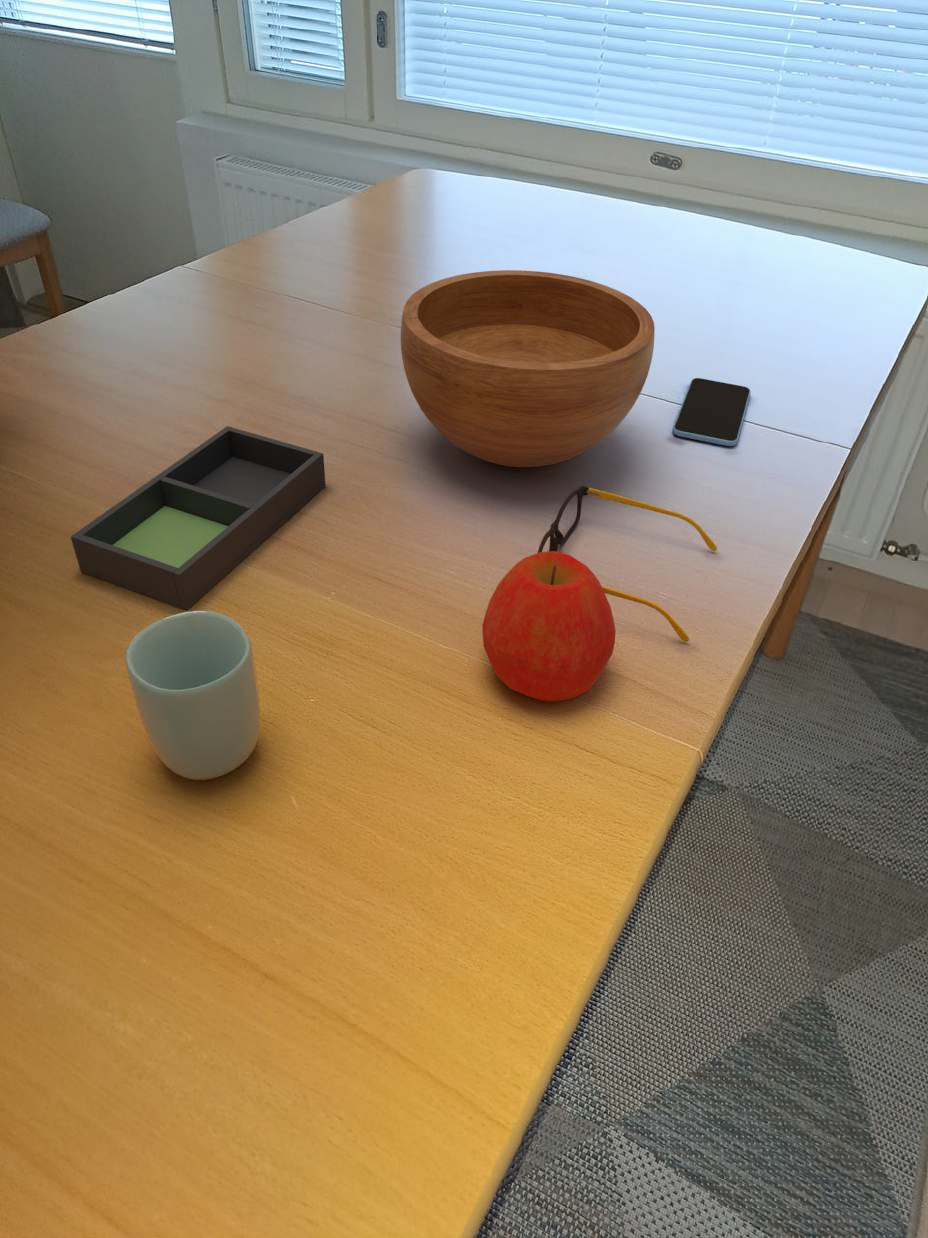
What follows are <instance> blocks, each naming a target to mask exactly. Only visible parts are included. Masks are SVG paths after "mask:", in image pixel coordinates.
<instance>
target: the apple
mask: <svg viewBox="0 0 928 1238" xmlns="http://www.w3.org/2000/svg"><path fill="white" fill-rule="evenodd" d="M602 586H603V585H601V581H600V580H599V579H598V577H597V576H596V575H595V574H594V572H593V571H592V570H591V569H590V568H589V566H587V565H586V564H584V563H583V562H581V561H580V560H579V559H577V558H576V557H574V556H573V555H571V554H569V553H568V554H567V553H563V552H558V551H557V552H555V551H551V552H549V551H542V552H539V553H538V552H536V553H534V554H531V555H529V556H526V557H524V558H522V559H521V560H519V561H517V563H516V564H515V565H514V566H512V568H511V569H510V570H509V571H508V572H507V573H506V574H505V575H504V576H503V577H502V578H501V580H500V582H499V583H498V584H497V586H496V588H495V589H494V591H493V593H492V595H491V597H490V599H489V602H488V604H487V607H486V610H485V613H484V618H483V621H482V625H481V626H482V643H483V648H484V651H485V653H486V655H487V658H488V660H489V662H490V665H491V667H492V669H493V671H494V673H495V675H496V677H497V678H498V679H499V680H500V681H501V682H502V683H504V684H505V685H506V686H507V687H508V688H509V689H510V690H513V691H514V692H517V693H519V694H522V695H524V696H527V697H529V698H533V699H535V700H539V701H544V702H549V703H551V702H558V701H566V700H567V701H568V700H572V699H575V698H578V696H580V695H582V694H584V693H586V692H588V691H590V690H591V688H592V687H593V686H594V684H595V683H596V682H597V680H598V679H599V678H600V676H601V674H602V673H603V670H605V667H606V665H607V664H608V662H609V660H610V659H611V658H612V656H613V653H614V648H615V645H616V625H615V620H614V616H613V611H612V607H611V605H610V602H609V599H608V598H607V594H606V593H604V591H603V589H602Z"/></svg>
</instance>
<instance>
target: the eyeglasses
mask: <svg viewBox="0 0 928 1238" xmlns="http://www.w3.org/2000/svg"><path fill="white" fill-rule="evenodd" d="M575 496H576V497H577V499H576V500H577V502H576V516H575V519H574V522H573V523H572V525H571V526H570V528H569V529H568V530H567V532H566V533H565V535H563V533H562V532H561V531H560V529H559V524H560V521H561V519H562V516H563V514H564V511H565V509H566V508H567V506H568V504H569V503H570V501H571V500H572V499H573V498H574V497H575ZM585 496H589V497H592V498H597V499H601V500H604V501H609V502H610V501H612V502H614V503H615V502H616V503H619V504H624V505H628V506H631V507H634V508H640V509H643V510H647V511H652V512H654V513H655V512H656V513H659V514H663V515H667V516H671V517H675V518H678V519H681V520H683V521H684V522H686V523H688V524H689V525H691V526H692V527H694V529H696V531H697V532H698V533H699V535H700V537H701V538H702V540H703V541H704V543H705V544H706V546H707V547H708V549H709V550H710V551H711V552H716V551H718V547H717V545H716V544H715V542H714V541H713V540H712V539H711V538H710V537H709V535H708V534H707V532H705V530H704V529H703V528H702V527H701V526H700V525H699V524H698V523H697V522H696V521H694V519H692V518H691V517H688V516H687V515H684V514H683V513H679V512H676V511H673V510H669V509H666V508H662V507H659V506H656V505H652V504H648V503H645V502H642V501H638V500H635V499H632V498H628V497H625V496H622V495H619V494H615V493H611V492H608V491H604V490H601V489H600V490H599V489H597V488H592V487H588V486H586V485H581V486H579V487H578V488H576V489H575V490H573V491H572V492H571V493H569V495H568V496H567V497H566V499H565V500H563V503H562V504H561V505H560V508H559V510H558V513H557V515H556V517H555V519H554V520H553V522H552V523H551V524H550V526H549V527H550V528H549V529H548V531H547V532H546V533H545V534H544V535H543V537H542V539H541V541H540V544H539V546H538V550H537V553H539V552H543V550H544V547H545V545H546V543H547V541H548V539H549V546H548V547H549V548H548V552H551V551H555V552H558V550H559V546H563V545H564V544H565V543H566V542H567V540H568V539H569V538H570V536H571V534H572V533H573V531H574V530H575V529H576V527H577V526H578V525H579V522H580V520H581V519H580V518H581V515H582V503H583V498H584V497H585ZM601 586H602V589H603V591H604V593H605V595H610V596H613V597H617V598H621V599H624V600H628V601H630V602H631V601H632V602H636V603H638V604H643V605H645V606H647V607H650V608H652V609H653V610H655V611H657V612H658V613H660V614H661V615H662V616H663V617H664V618H665V619H666V621H668V623H669V624H670V625H671V627H672V628H673V630H674V632H675V633H676V634H677V636H678V638H680V640H681V641H682V642H685V643H687V642H689V641H690V637H689V635H688V634H687V633H686V631H685V630H684V629H683V628H682V627H681V626H680V625H679V624H678V622H677V621H675V619H674V618H673V617H672V616H671V615H670V614H669V613H668V612H667V610H665V609H664V608H663V607H661V606H660V605H658V604H657V603H654V602H652V601H650V600H648V599H644V598H641V597H638V596H636V595H635V596H634V595H632V594H628V593H626V592H622V591H620V590H616V589H613V588H610V587H607V586H603V585H601Z"/></svg>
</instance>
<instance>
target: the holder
mask: <svg viewBox="0 0 928 1238" xmlns="http://www.w3.org/2000/svg"><path fill="white" fill-rule="evenodd" d="M325 473H326V472H325V459H324V453H323V452H320V451H317V450H313V449H309V448H306V447H303V446H299V445H296V444H292V443H288V442H285V441H281V440H277V439H276V438H275V439H274V438H271V437H267V436H264V435H260V434H257V433H253V432H250V431H247V430H244V429H243V430H242V429H239V428H235V427H232V426H229V425H227V426H225V427H224V428H222V429H221V430H220V431H218V432H216V433H215V434H214V435H212V436H211V437H209V438H208V439H207V440H206V441H204V442H202V443H201V444H200V445H198V446H197V447H195V448H194V449H192V450H191V451H190V452H188V453H186V454H185V455H184V456H183V457H181V458H180V459H178V460H177V461H175V462H174V463H173V464H172V465H170V466H169V467H167V468H166V469H164V470H163V471H161V472H160V473H159V474H157V475H156V476H154V477H153V478H151V479H150V480H149V481H147V482H146V483H145V484H143V485H142V486H139V488H137V489H135V491H133V492H131V494H129V495H127V496H126V497H124V498H122V500H120V501H119V502H118V503H116V504H115V505H113V506H112V507H110V508H109V509H108V510H105V512H103V513H102V514H100V515H99V516H97V517H96V518H95V519H93V520H92V521H90V522H89V523H88V524H86V525H85V526H83V527H82V528H81V529H79V530H78V531H76V532H75V533H74V534H72V535H71V536H70V540H71V543H72V547H73V549H74V555H75V557H76V560H77V564H78V567H79V570H80V572H81V573H83V574H84V575H85V574H86V575H88V576H90V577H93V578H97V579H100V580H102V581H104V582H107V583H110V584H113V585H116V586H119V587H122V588H123V589H127V590H129V591H133V592H135V593H137V594H141V595H143V596H146V597H149V598H152V599H155V600H157V601H159V602H162V603H166V604H168V605H170V606H174V607H176V608H179V609H181V610H185V611H188V610H189V609H190V608H192V607H193V605H195V604H196V603H197V602H199V600H200V599H202V598H203V597H204V596H205V595H206V594H207V593H208V592H209V591H210V590H212V589H213V588H214V587H215V586H216V585H217V584H218V583H220V582H221V581H222V580H223V579H224V578H225V577H226V576H228V575H229V574H230V573H231V572H232V571H233V570H234V569H235V568H236V567H237V566H238V565H240V564H241V562H243V561H244V560H245V559H246V558H248V557H249V556H250V555H251V554H252V553H253V552H254V551H255V550H256V549H257V548H258V547H260V546H261V545H262V544H263V543H264V542H265V541H266V540H268V538H270V537H271V536H272V535H273V534H274V533H275V532H277V530H279V529H280V528H281V527H282V526H283V525H284V524H285V523H286V522H287V521H288V520H290V519H291V518H292V517H293V516H294V515H295V514H297V513H298V512H299V511H300V510H301V509H302V508H303V507H304V506H305V505H307V504H308V503H309V502H311V500H312V499H313V498H315V496H317V495H318V494H319V493H321V491H322V490H323V489H324V488H326V487H327V486H326V474H325Z"/></svg>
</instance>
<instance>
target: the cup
mask: <svg viewBox="0 0 928 1238" xmlns="http://www.w3.org/2000/svg"><path fill="white" fill-rule="evenodd" d="M125 667H126V672H127V676H128V681H129V684H130V687H131V691H132V695H133V698H134V703H135V705H136V709H137V713H138V716H139V719H140V722H141V725H142V728H143V731H144V733H145V736H146V738H147V740H148V741H149V744H150V746H151V748H152V749H153V751H154V753H155V754H156V756H157V757H158V759H159V760H160V761H161V762H162V763H163V764H164V765H165V766H166V767H167V769H169V770H170V771H172V772H173V773H175V774H176V775H178V776H180V777H182V778H185V779H188V780H193V781H207V780H214V779H216V778H220V777H222V776H225V775H227V774H228V773H231V772H232V771H234V770H236V769H237V768H239V767H240V766H241V765H242V764H244V763H245V762H246V760H247V759H249V757H250V756H251V755H252V753H253V752H254V749H255V748H256V745H257V743H258V739H259V735H260V728H261V718H262V717H261V700H260V690H259V684H258V683H259V682H258V675H257V669H256V661H255V656H254V649H253V645H252V642H251V640H250V637H249V636H248V633H247V631H246V630H245V629H244V628H243V627H242V626H241V625H240V624H239V623H238V622H237V621H235V620H234V619H233V618H230V617H229V616H227V615H224V614H222V613H219V612H216V611H209V610H192V611H191V610H190V611H183V612H180V613H175V614H172V615H169V616H166V617H164V618H161V619H159V620H157V621H155V622H153V623H150V624H149V625H147V626H146V627H144V628H143V629H142V630H141V631H140V632H138V633H137V634H136V635H135V636H134V638H132V640H131V641H130V642H129V644H128V647H127V648H126V652H125Z"/></svg>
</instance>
